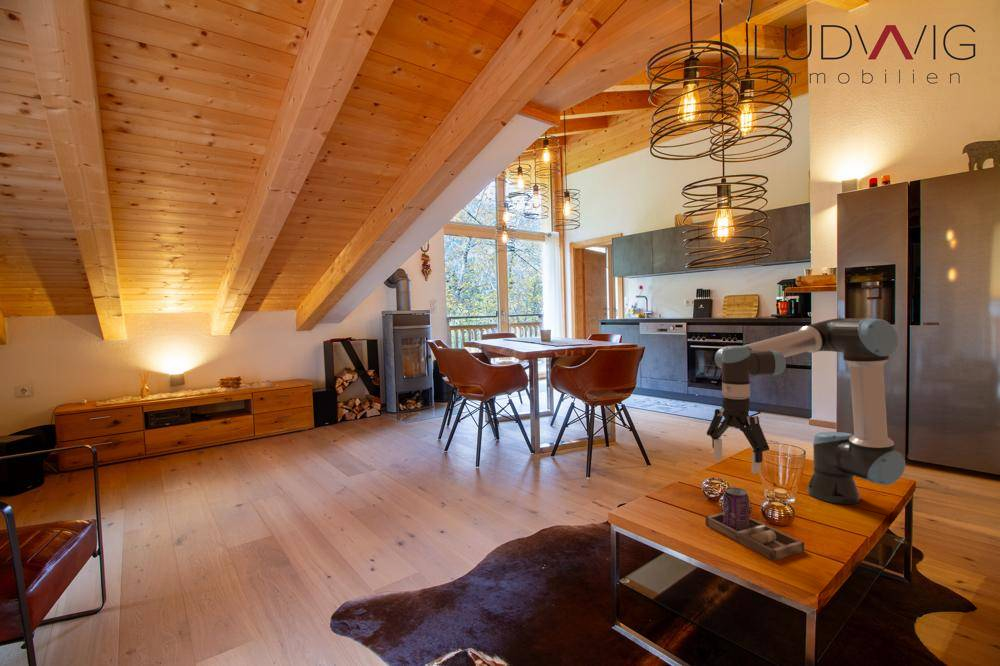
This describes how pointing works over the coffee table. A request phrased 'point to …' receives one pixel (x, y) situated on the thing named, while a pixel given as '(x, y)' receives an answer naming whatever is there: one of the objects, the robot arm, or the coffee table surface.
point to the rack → (771, 550)
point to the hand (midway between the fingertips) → (736, 465)
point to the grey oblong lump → (764, 536)
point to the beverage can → (736, 508)
